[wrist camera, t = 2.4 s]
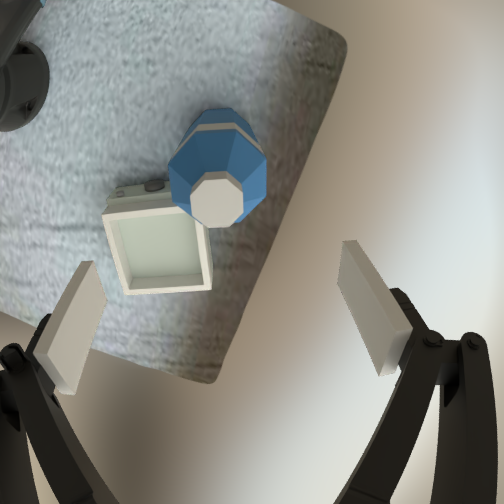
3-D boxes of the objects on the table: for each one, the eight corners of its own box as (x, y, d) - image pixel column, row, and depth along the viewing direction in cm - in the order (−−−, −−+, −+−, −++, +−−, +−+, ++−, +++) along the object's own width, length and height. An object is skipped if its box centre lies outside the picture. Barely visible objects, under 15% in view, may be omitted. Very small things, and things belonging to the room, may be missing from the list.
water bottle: (261, 119, 44) (300, 168, 23) (238, 175, 48) (252, 270, 27) (200, 98, 41) (175, 125, 20) (179, 156, 46) (142, 239, 25)
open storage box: (115, 183, 47) (98, 203, 40) (202, 172, 47) (198, 191, 41) (136, 271, 56) (126, 299, 49) (212, 265, 56) (212, 294, 49)
